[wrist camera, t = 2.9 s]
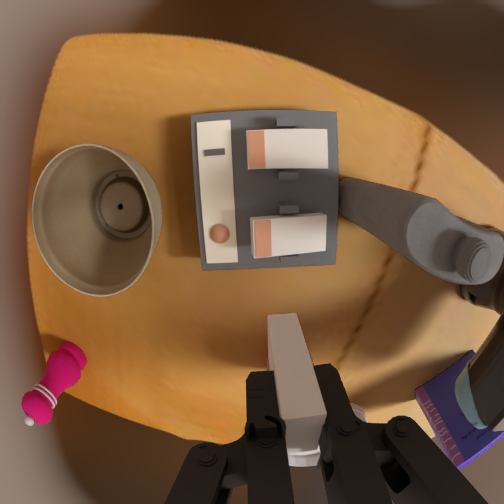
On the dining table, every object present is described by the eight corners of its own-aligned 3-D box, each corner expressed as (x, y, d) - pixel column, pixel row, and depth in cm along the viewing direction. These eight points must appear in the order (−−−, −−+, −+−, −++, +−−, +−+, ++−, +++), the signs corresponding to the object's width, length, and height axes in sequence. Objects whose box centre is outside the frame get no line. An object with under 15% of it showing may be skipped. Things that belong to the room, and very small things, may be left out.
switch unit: (326, 117, 30) (343, 108, 24) (326, 253, 36) (341, 271, 30) (197, 120, 30) (185, 111, 24) (207, 258, 36) (199, 278, 30)
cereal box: (415, 399, 48) (454, 473, 26) (414, 389, 47) (457, 468, 24) (471, 361, 46) (519, 422, 23) (472, 349, 44) (524, 412, 22)
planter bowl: (63, 210, 33) (16, 229, 23) (122, 122, 30) (77, 112, 19) (134, 283, 37) (102, 323, 27) (207, 202, 34) (188, 221, 23)
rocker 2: (320, 212, 30) (327, 215, 28) (320, 246, 31) (326, 251, 29) (249, 217, 28) (253, 220, 27) (251, 253, 30) (254, 258, 28)
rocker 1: (325, 130, 25) (327, 129, 24) (326, 168, 27) (328, 168, 25) (248, 131, 27) (245, 130, 25) (250, 168, 28) (247, 169, 26)
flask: (325, 215, 34) (404, 280, 15) (337, 172, 32) (434, 193, 13) (412, 242, 36) (505, 304, 17) (424, 205, 34) (526, 248, 15)
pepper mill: (57, 334, 41) (3, 401, 22) (86, 346, 41) (35, 421, 22) (63, 360, 43) (19, 425, 24) (91, 372, 44) (50, 444, 25)
